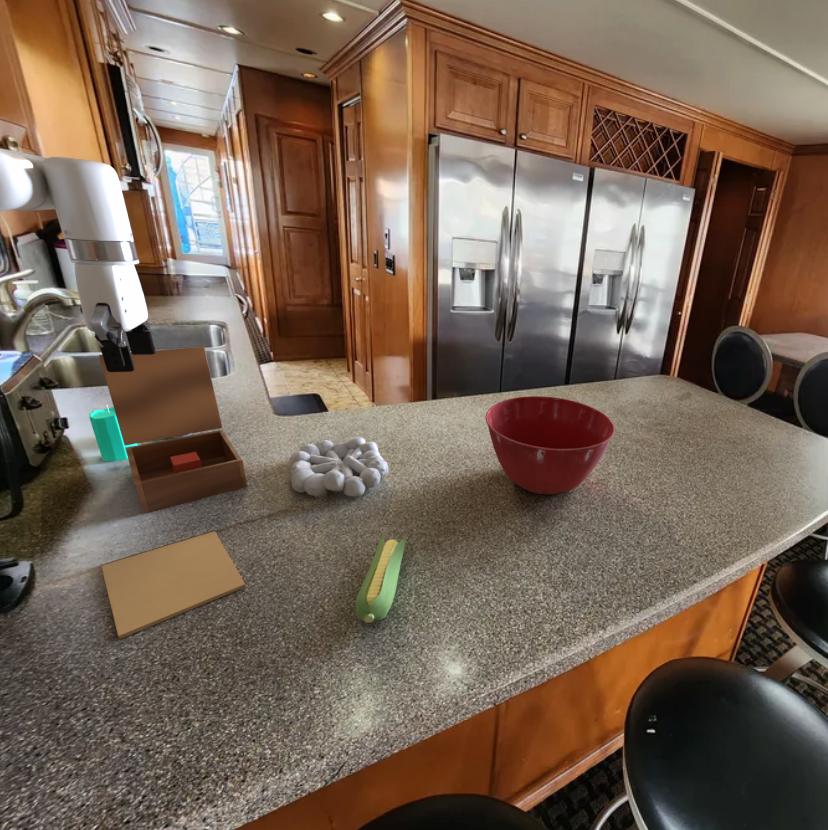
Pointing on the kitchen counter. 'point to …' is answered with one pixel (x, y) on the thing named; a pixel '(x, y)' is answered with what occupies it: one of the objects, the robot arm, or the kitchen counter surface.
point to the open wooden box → (172, 489)
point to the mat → (168, 581)
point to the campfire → (337, 467)
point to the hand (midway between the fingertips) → (133, 362)
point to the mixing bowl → (548, 441)
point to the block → (185, 462)
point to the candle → (108, 435)
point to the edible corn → (380, 582)
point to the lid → (164, 395)
